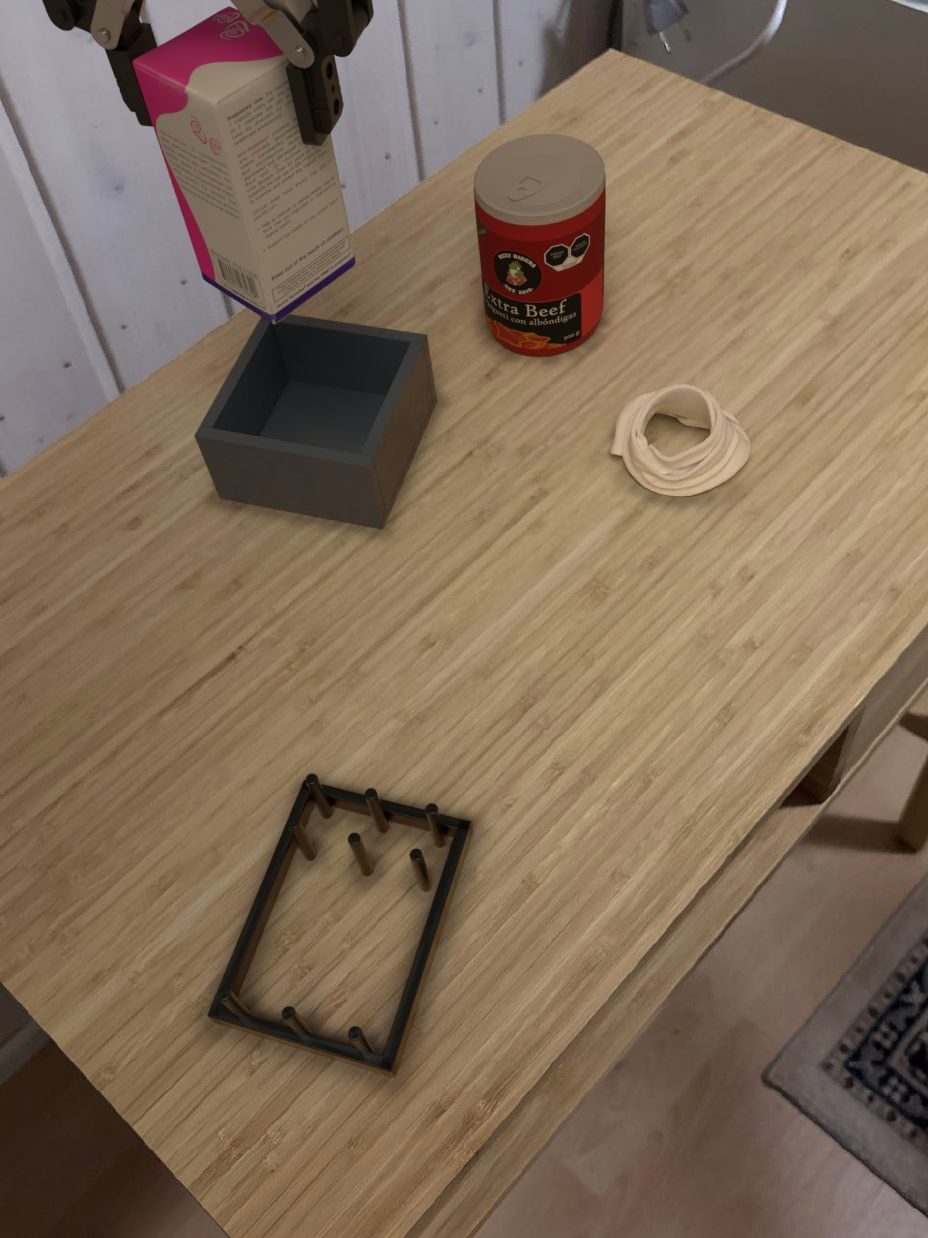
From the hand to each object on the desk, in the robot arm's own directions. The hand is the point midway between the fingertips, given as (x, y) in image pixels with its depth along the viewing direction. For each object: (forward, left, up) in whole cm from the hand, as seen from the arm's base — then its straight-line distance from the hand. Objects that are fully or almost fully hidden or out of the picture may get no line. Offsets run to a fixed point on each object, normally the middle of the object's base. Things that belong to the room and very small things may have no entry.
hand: (238, 125), depth 51 cm
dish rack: (-26, -11, -23) cm, 37 cm away
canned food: (+16, -9, -24) cm, 30 cm away
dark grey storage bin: (+2, +1, -23) cm, 23 cm away
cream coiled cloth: (+6, -20, -24) cm, 31 cm away
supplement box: (0, 0, -8) cm, 8 cm away
